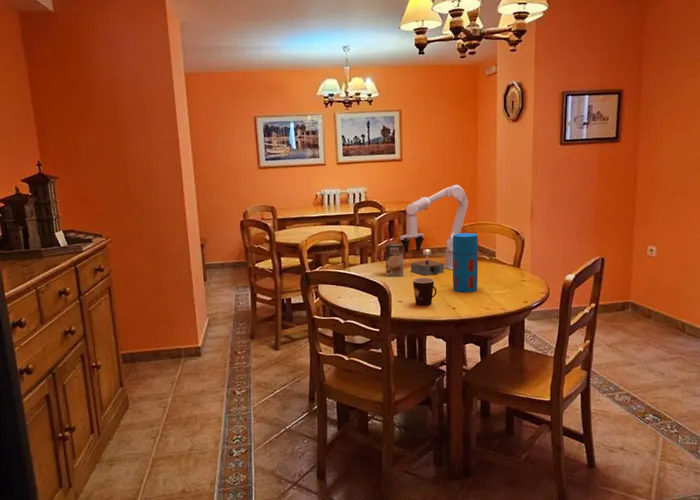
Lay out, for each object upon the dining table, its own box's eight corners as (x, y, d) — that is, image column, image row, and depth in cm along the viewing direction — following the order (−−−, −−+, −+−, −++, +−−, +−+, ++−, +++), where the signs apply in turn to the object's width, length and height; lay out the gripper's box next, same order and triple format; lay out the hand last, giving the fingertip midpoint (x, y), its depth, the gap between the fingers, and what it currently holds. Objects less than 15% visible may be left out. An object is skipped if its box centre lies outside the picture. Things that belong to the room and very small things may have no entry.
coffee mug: (411, 301, 218) (410, 278, 216) (431, 300, 218) (431, 277, 216) (417, 309, 206) (416, 285, 204) (438, 308, 207) (438, 284, 205)
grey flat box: (429, 268, 277) (429, 259, 277) (446, 273, 265) (446, 264, 265) (411, 271, 272) (410, 262, 271) (427, 276, 260) (427, 267, 259)
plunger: (427, 262, 271) (427, 248, 270) (432, 263, 268) (432, 249, 266) (421, 263, 269) (421, 249, 268) (426, 264, 266) (426, 250, 265)
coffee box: (385, 276, 263) (384, 245, 260) (386, 273, 269) (385, 243, 266) (403, 276, 262) (403, 245, 259) (403, 273, 268) (403, 243, 265)
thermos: (478, 287, 236) (478, 233, 232) (476, 293, 226) (476, 237, 222) (454, 286, 240) (454, 232, 235) (451, 292, 230) (451, 236, 225)
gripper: (418, 224, 283) (418, 248, 286) (396, 227, 276) (397, 252, 279) (426, 225, 277) (426, 250, 280) (404, 228, 270) (404, 254, 273)
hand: (412, 251), depth 279 cm, fingers open, 7 cm apart
